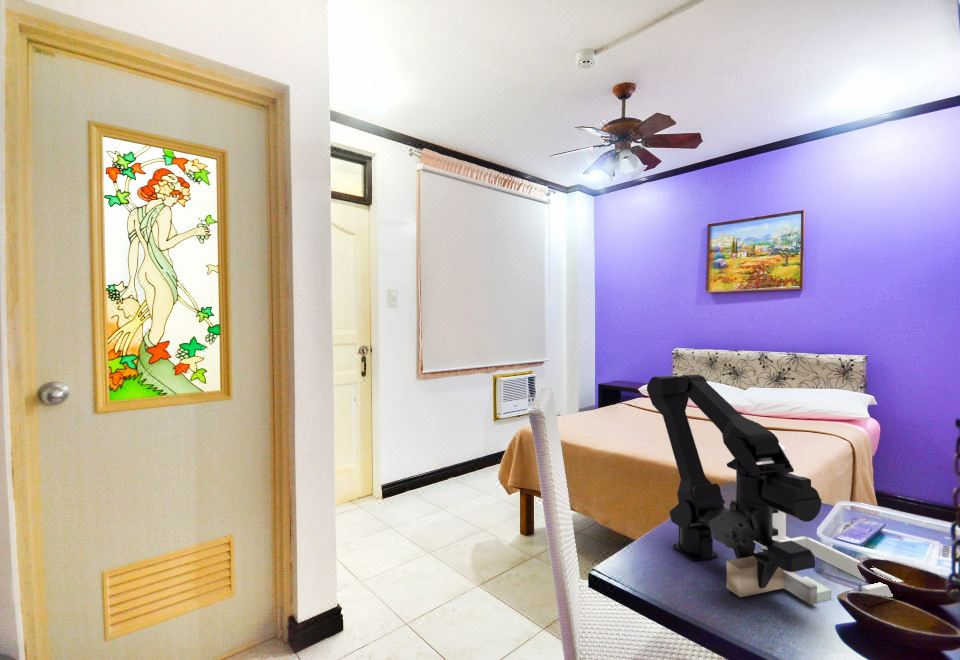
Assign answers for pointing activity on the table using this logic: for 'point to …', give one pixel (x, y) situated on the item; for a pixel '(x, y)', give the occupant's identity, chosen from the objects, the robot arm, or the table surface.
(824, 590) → the tile sage
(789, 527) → the table surface
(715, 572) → the table surface
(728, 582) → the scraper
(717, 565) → the table surface
